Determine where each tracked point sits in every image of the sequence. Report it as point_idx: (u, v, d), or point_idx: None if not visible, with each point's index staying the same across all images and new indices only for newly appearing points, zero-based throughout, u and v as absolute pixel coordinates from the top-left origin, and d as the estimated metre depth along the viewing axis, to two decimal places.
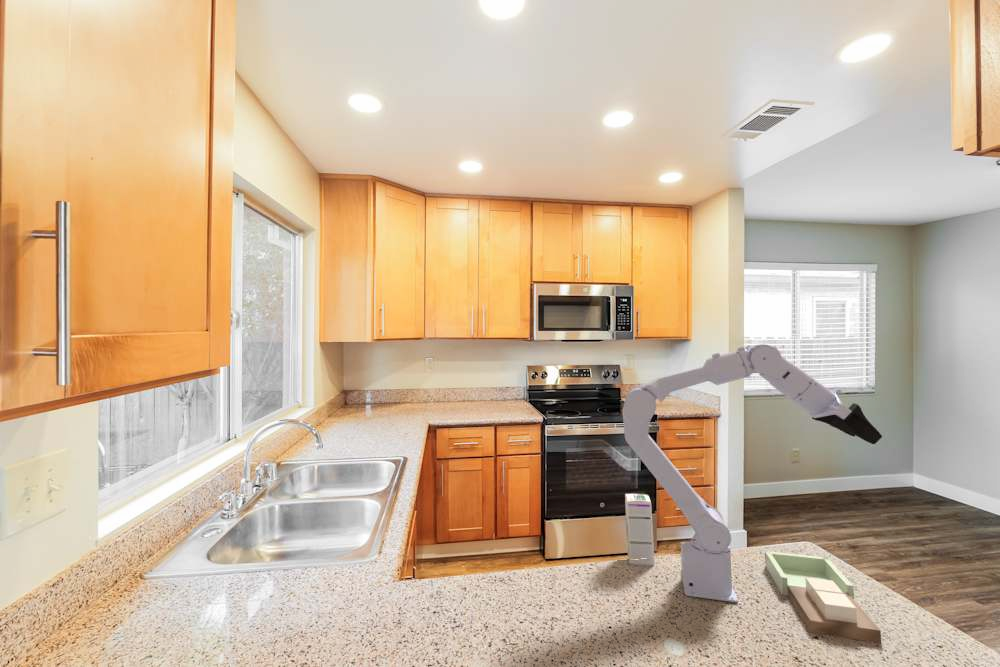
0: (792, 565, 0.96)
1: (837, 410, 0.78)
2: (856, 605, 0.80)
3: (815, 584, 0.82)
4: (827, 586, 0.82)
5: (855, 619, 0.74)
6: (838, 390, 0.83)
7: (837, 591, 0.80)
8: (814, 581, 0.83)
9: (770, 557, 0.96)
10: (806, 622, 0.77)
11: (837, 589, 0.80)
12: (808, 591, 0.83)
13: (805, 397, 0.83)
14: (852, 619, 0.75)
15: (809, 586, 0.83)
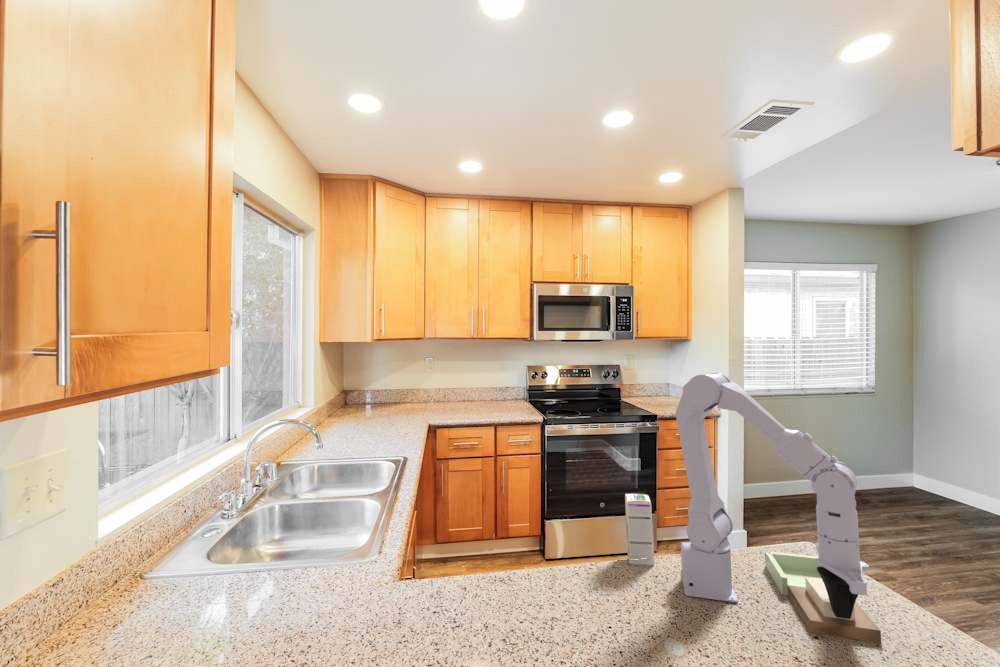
0: (792, 565, 0.96)
1: (856, 583, 0.68)
2: (856, 605, 0.80)
3: (815, 583, 0.82)
4: None
5: (853, 617, 0.75)
6: (867, 567, 0.73)
7: None
8: (814, 580, 0.83)
9: (770, 557, 0.96)
10: (806, 622, 0.77)
11: None
12: (808, 590, 0.84)
13: (835, 545, 0.73)
14: None
15: (809, 585, 0.83)
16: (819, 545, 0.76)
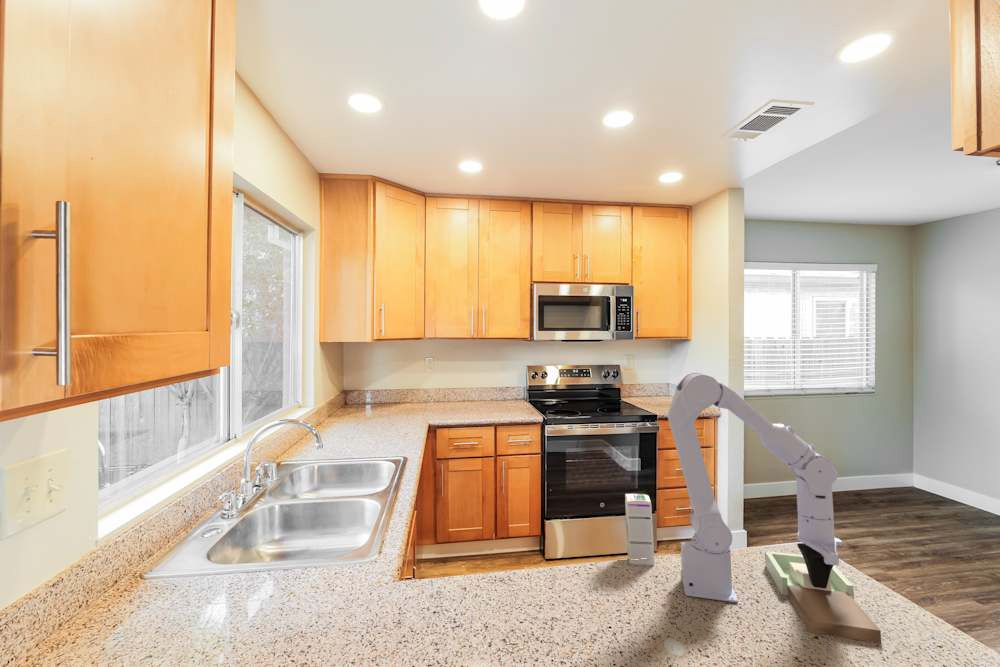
0: None
1: (829, 554, 0.78)
2: (856, 605, 0.80)
3: (797, 568, 0.92)
4: None
5: (830, 587, 0.84)
6: (840, 542, 0.83)
7: None
8: (797, 565, 0.93)
9: (770, 557, 0.96)
10: (806, 622, 0.77)
11: None
12: (791, 574, 0.93)
13: (813, 523, 0.83)
14: (827, 587, 0.84)
15: (792, 570, 0.92)
16: (799, 523, 0.86)
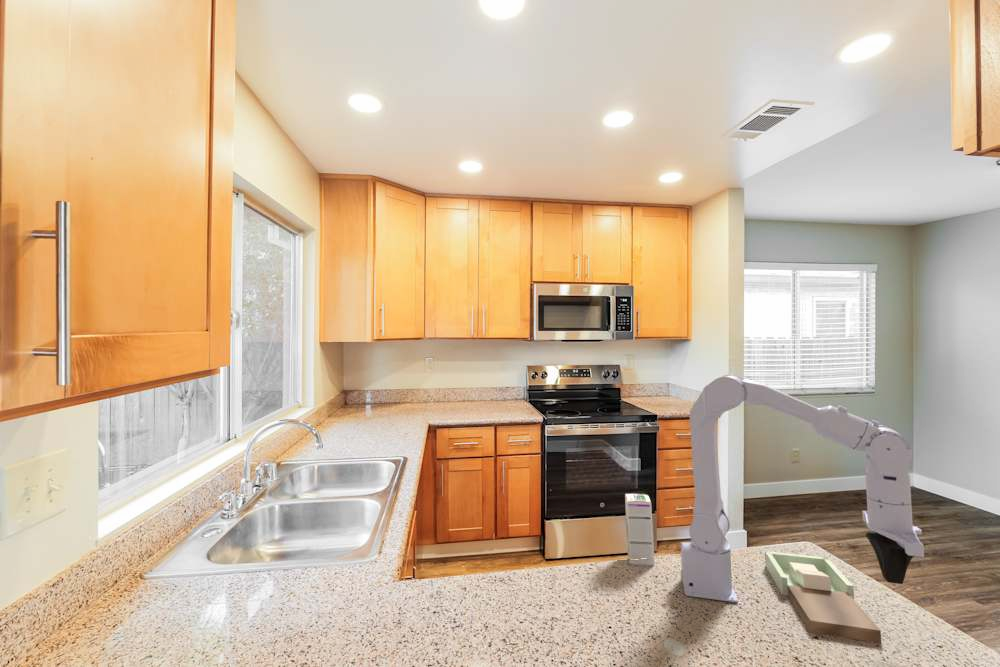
0: None
1: (912, 544, 0.67)
2: (856, 605, 0.80)
3: (797, 568, 0.92)
4: (808, 569, 0.91)
5: (830, 587, 0.84)
6: (919, 531, 0.72)
7: None
8: (797, 565, 0.93)
9: (770, 557, 0.96)
10: (806, 622, 0.77)
11: None
12: (791, 574, 0.93)
13: (888, 509, 0.72)
14: (827, 587, 0.84)
15: (792, 570, 0.92)
16: (869, 510, 0.75)
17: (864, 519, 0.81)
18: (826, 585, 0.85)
